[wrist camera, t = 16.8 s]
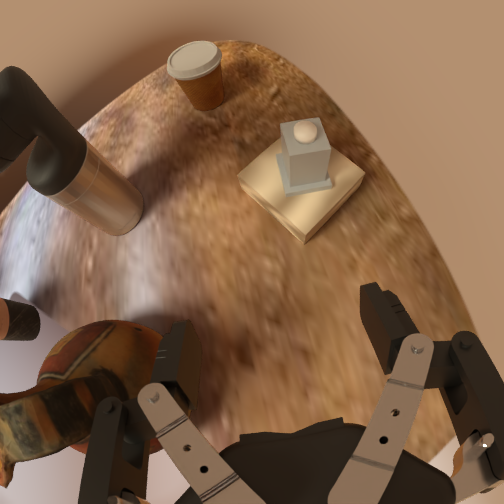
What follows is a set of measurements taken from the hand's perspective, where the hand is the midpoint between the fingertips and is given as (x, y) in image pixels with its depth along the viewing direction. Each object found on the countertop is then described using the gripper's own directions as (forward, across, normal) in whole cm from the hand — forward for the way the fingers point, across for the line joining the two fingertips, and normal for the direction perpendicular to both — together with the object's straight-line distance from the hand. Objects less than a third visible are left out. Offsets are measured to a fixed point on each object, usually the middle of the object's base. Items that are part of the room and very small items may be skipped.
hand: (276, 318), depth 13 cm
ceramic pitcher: (+16, +23, +24) cm, 37 cm away
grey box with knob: (+30, -7, +3) cm, 31 cm away
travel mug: (+24, +48, +15) cm, 56 cm away
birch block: (+34, -7, +6) cm, 35 cm away
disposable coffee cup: (+50, +6, -11) cm, 51 cm away
